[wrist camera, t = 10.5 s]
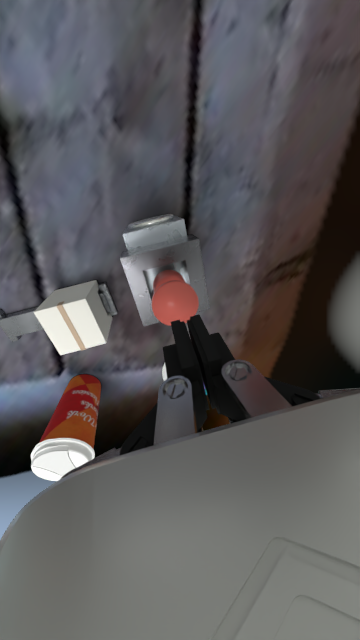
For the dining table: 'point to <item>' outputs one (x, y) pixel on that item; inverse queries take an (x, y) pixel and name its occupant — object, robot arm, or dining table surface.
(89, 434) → the paper cup
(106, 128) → the dining table surface
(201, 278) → the cabinet
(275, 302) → the dining table surface
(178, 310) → the button
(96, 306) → the white taped box
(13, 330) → the rail
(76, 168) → the dining table surface
